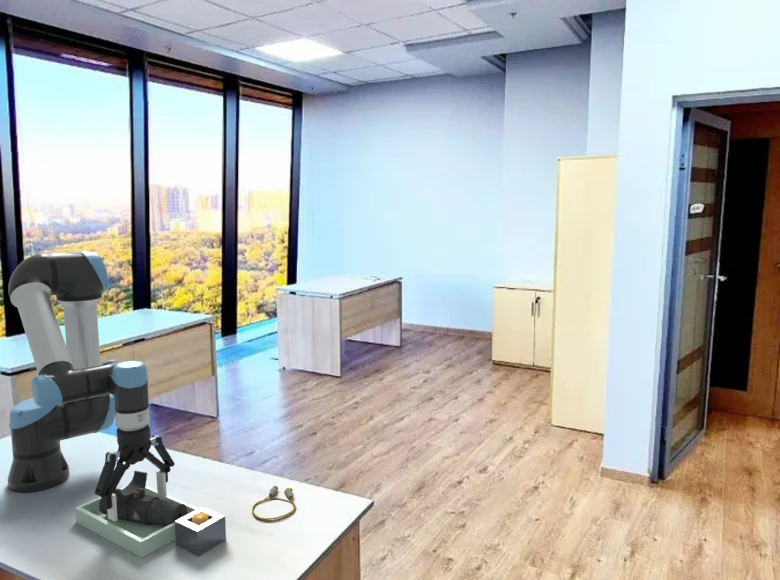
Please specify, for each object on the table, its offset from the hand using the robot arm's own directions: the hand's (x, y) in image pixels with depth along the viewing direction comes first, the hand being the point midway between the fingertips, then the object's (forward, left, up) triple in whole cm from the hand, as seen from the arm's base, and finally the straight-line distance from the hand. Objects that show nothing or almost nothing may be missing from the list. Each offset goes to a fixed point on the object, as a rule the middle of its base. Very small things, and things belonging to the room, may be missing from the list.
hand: (138, 507), depth 147 cm
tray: (0, 0, -4) cm, 4 cm away
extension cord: (+22, +25, -5) cm, 34 cm away
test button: (+20, +3, -3) cm, 20 cm away
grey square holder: (+20, +3, -4) cm, 20 cm away
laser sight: (+1, 0, -4) cm, 4 cm away
